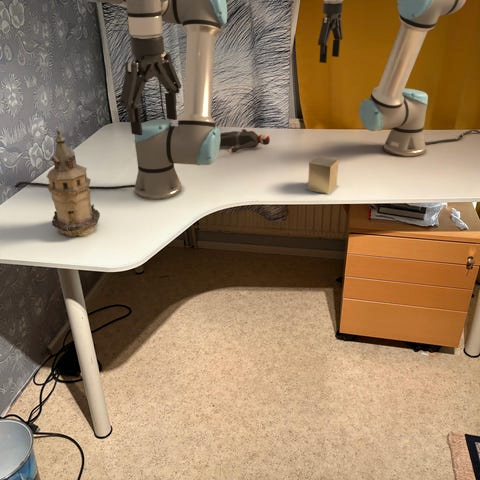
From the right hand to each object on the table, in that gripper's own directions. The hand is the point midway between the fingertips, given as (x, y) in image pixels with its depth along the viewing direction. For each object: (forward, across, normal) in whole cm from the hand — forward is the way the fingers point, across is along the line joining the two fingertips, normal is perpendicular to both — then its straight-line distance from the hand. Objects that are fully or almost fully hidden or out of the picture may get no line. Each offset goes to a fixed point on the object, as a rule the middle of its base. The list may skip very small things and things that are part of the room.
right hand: (329, 59), depth 217 cm
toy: (+30, +36, -25) cm, 53 cm away
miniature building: (+30, +117, -29) cm, 124 cm away
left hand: (-3, +111, -2) cm, 111 cm away
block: (+30, +57, +22) cm, 68 cm away
